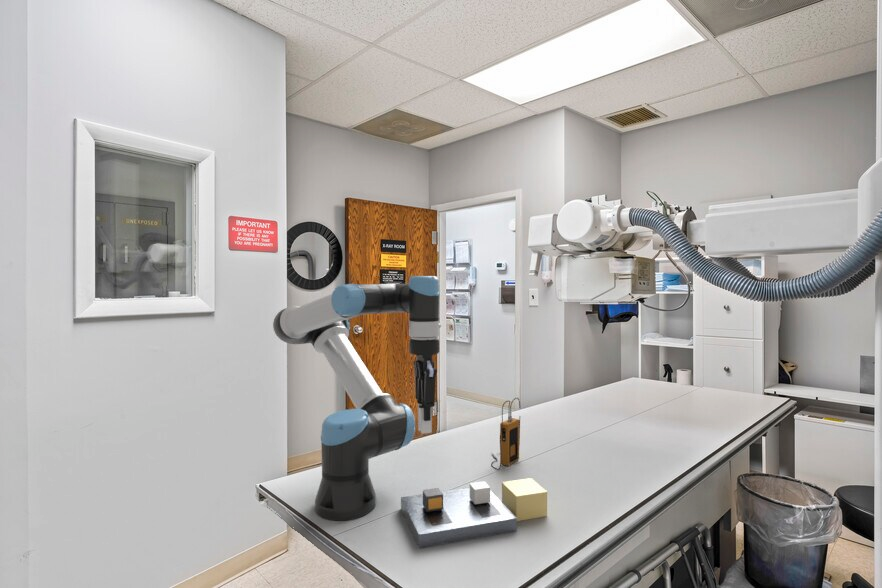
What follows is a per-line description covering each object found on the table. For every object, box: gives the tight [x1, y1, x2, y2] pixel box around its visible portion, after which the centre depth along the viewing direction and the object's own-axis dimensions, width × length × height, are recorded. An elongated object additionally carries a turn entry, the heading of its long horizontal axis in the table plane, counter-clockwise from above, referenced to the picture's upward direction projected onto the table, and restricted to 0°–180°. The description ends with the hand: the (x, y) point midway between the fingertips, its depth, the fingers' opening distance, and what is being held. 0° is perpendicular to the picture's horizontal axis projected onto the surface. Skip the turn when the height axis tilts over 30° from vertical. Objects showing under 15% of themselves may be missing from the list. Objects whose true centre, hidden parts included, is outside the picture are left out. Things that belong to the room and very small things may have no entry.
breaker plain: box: [469, 480, 491, 504], centre depth 115 cm, size 4×4×4 cm
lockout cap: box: [501, 477, 548, 522], centre depth 117 cm, size 8×8×6 cm
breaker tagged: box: [422, 487, 443, 512], centre depth 112 cm, size 4×4×4 cm
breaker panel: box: [400, 486, 518, 549], centre depth 112 cm, size 23×18×3 cm
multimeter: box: [490, 397, 521, 471], centre depth 149 cm, size 15×10×20 cm
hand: (424, 431), depth 118 cm, fingers open, 2 cm apart
